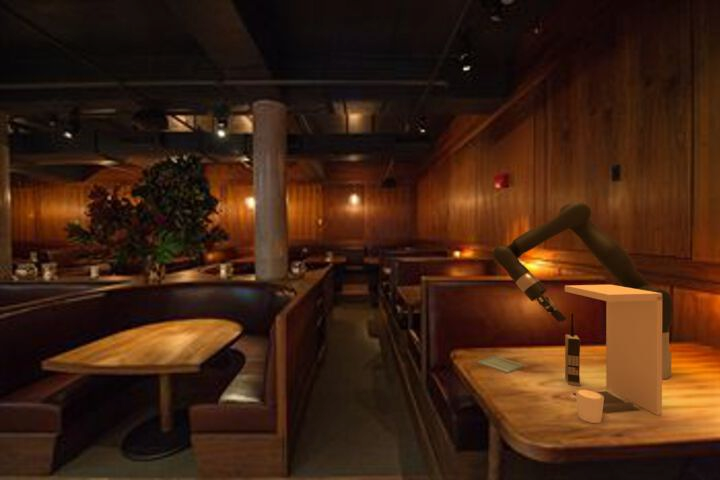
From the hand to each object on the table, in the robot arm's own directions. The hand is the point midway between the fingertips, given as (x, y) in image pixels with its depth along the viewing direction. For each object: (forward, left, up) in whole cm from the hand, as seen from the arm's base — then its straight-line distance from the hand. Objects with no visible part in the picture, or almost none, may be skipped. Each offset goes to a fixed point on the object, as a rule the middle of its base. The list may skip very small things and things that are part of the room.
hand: (562, 320), depth 125 cm
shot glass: (+11, +26, -22) cm, 36 cm away
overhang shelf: (-2, +18, -21) cm, 28 cm away
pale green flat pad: (+16, -15, -22) cm, 31 cm away
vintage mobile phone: (-1, +4, -22) cm, 22 cm away
